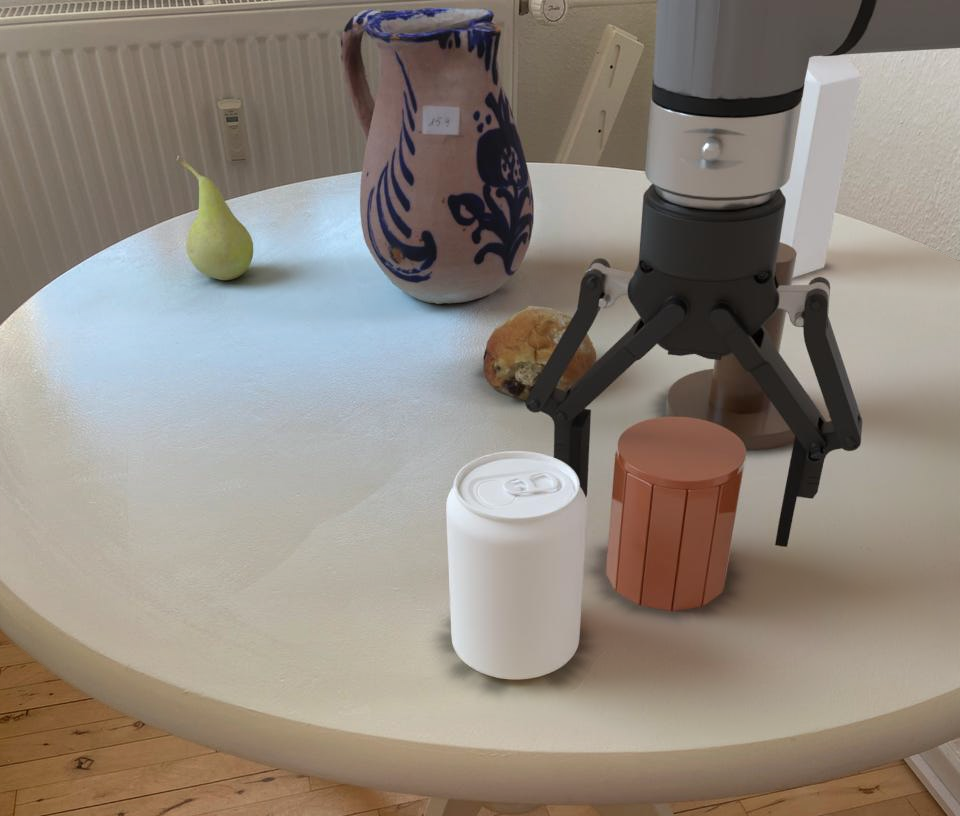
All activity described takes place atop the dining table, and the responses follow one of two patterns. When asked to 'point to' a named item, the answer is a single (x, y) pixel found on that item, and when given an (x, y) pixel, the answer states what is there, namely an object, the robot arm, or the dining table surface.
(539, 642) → the beverage can
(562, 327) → the bread roll
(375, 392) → the dining table surface
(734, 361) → the towel holder
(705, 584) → the ribbed orange cylinder
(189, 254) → the fruit
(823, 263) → the milk
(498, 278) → the ceramic pitcher
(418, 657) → the dining table surface
